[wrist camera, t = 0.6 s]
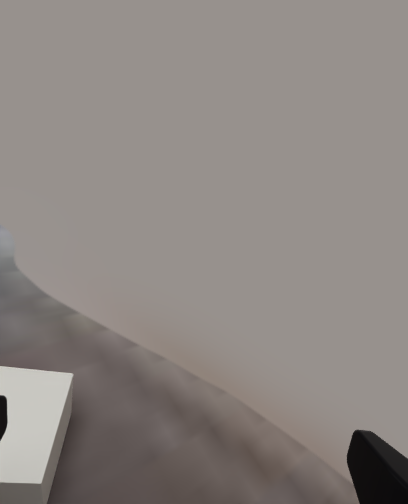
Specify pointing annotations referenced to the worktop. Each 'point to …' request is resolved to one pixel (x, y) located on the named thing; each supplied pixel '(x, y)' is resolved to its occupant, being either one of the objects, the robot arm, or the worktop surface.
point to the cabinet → (32, 432)
